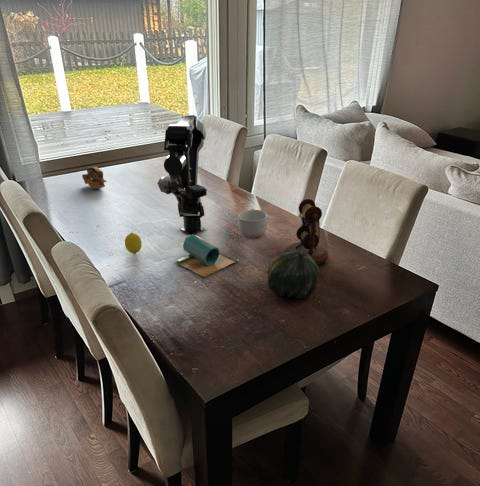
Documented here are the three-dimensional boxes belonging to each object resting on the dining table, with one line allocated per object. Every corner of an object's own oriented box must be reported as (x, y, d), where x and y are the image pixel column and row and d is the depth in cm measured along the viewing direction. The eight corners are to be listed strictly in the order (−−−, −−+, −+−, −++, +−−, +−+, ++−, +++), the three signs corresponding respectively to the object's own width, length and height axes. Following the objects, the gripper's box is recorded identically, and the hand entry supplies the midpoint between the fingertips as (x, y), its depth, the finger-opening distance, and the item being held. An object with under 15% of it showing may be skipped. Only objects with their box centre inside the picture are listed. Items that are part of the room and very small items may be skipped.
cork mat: (176, 263, 144) (176, 260, 144) (208, 249, 153) (207, 246, 152) (203, 277, 137) (203, 274, 136) (235, 262, 145) (235, 259, 144)
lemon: (145, 251, 151) (143, 230, 147) (137, 258, 147) (134, 237, 143) (131, 249, 153) (129, 228, 149) (123, 256, 149) (120, 234, 144)
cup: (182, 237, 143) (205, 251, 137) (197, 231, 147) (220, 245, 141) (182, 254, 147) (204, 268, 141) (197, 248, 151) (219, 261, 145)
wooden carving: (80, 186, 210) (76, 165, 205) (88, 183, 213) (84, 163, 208) (103, 192, 202) (99, 171, 197) (110, 190, 205) (107, 169, 200)
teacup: (264, 241, 159) (265, 221, 155) (235, 238, 161) (235, 218, 157) (269, 226, 171) (270, 207, 166) (242, 224, 172) (243, 205, 168)
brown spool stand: (333, 267, 143) (341, 209, 132) (290, 270, 141) (294, 212, 130) (319, 247, 155) (325, 193, 145) (279, 250, 153) (282, 195, 143)
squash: (267, 259, 135) (270, 240, 121) (314, 262, 135) (324, 243, 121) (265, 303, 131) (269, 289, 117) (314, 306, 131) (324, 292, 117)
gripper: (143, 164, 142) (148, 210, 150) (179, 177, 131) (182, 225, 139) (170, 158, 149) (173, 201, 157) (207, 169, 138) (208, 215, 146)
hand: (183, 210), depth 149 cm, fingers closed
